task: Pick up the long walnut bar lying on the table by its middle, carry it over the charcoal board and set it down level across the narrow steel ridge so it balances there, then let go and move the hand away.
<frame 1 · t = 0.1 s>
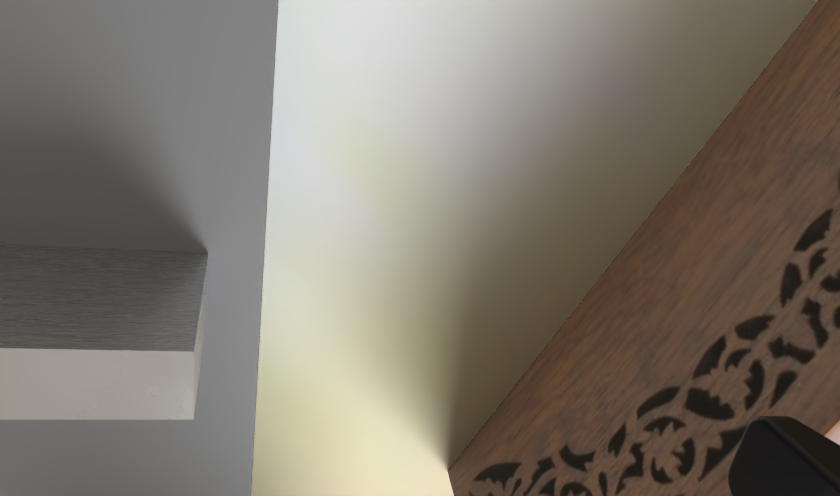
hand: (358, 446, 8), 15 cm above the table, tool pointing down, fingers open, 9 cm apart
tissue box cover: (802, 274, 28), on the table
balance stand: (48, 249, 22), on the table
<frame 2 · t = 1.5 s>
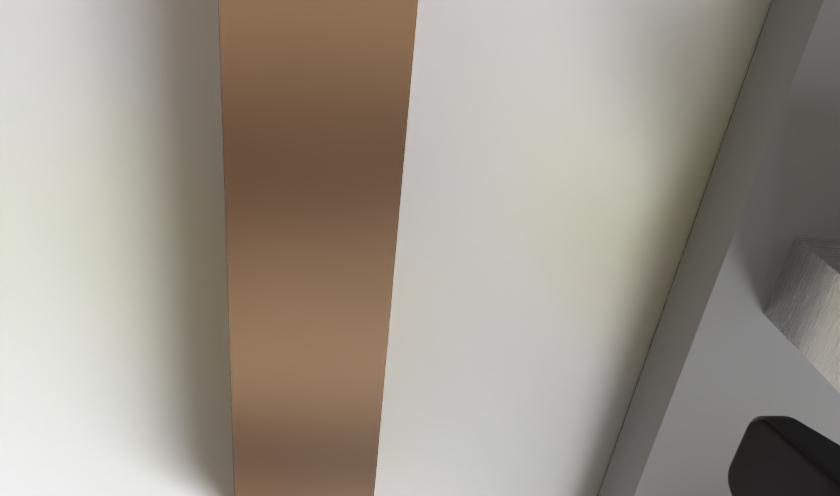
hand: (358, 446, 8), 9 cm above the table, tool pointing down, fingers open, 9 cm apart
walnut bar: (308, 125, 16), on the table
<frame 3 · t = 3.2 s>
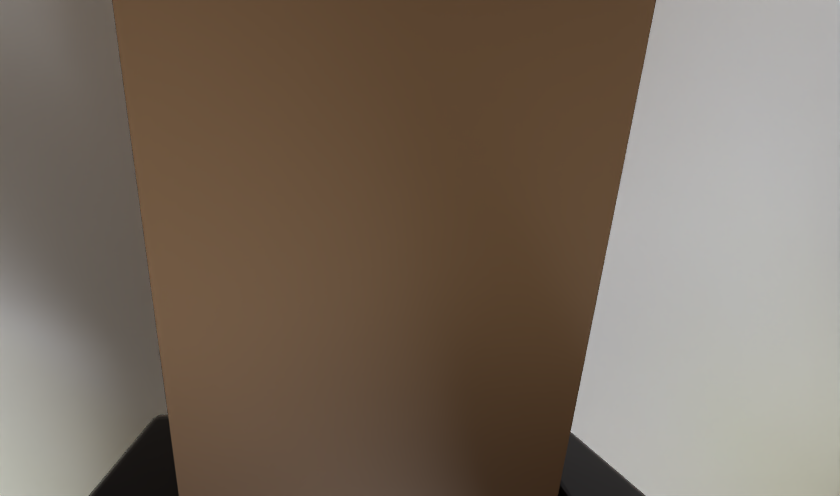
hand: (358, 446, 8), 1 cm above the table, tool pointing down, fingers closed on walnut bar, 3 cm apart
walnut bar: (346, 367, 9), on the table, touching gripper
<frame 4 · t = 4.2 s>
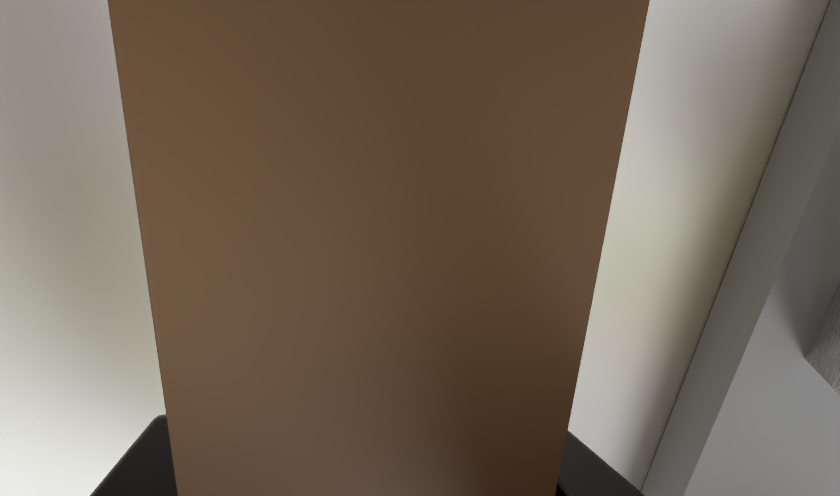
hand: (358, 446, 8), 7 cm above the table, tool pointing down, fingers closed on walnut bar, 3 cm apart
walnut bar: (346, 366, 9), point 6 cm above the table, touching gripper
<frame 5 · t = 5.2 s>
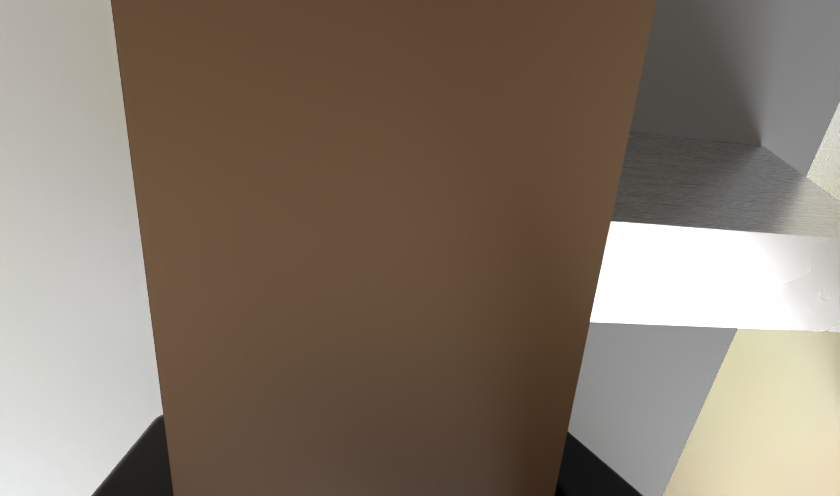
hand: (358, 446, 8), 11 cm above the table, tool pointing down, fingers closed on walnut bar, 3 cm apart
walnut bar: (343, 367, 9), point 9 cm above the table, touching gripper
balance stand: (547, 141, 18), on the table
when the fingers open (8 cm above the table, at t = 6.9 s): walnut bar stays where it is, resting on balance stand.
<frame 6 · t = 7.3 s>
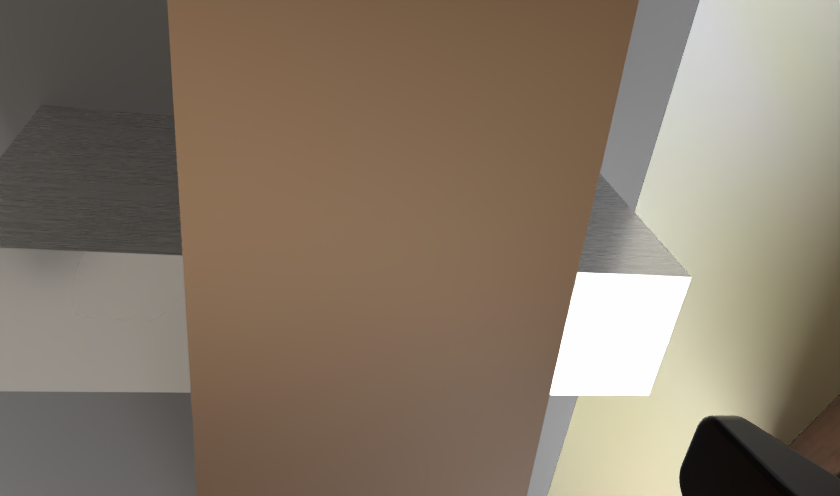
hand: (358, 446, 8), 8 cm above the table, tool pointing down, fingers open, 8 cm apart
walnut bar: (342, 337, 10), point 6 cm above the table, touching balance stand
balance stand: (319, 148, 15), on the table
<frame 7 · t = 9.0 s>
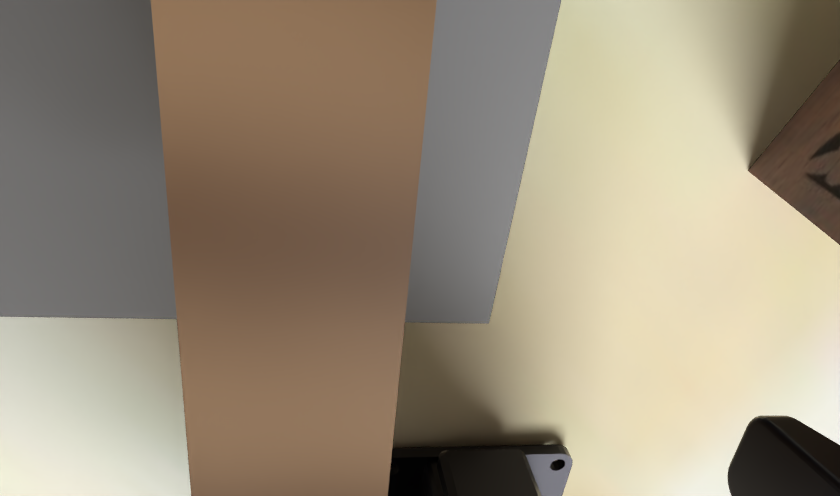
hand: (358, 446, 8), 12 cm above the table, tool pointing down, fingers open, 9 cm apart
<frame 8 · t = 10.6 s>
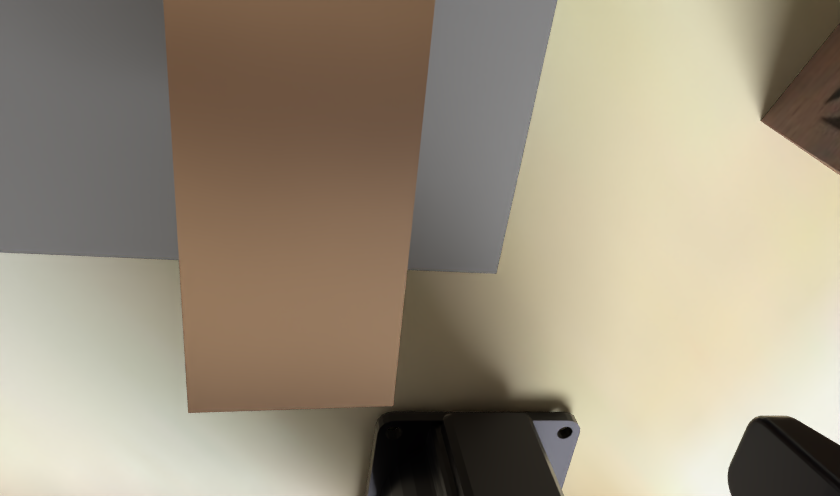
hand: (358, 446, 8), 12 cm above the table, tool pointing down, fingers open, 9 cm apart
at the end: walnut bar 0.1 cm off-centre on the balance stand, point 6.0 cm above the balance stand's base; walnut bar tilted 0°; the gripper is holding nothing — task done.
